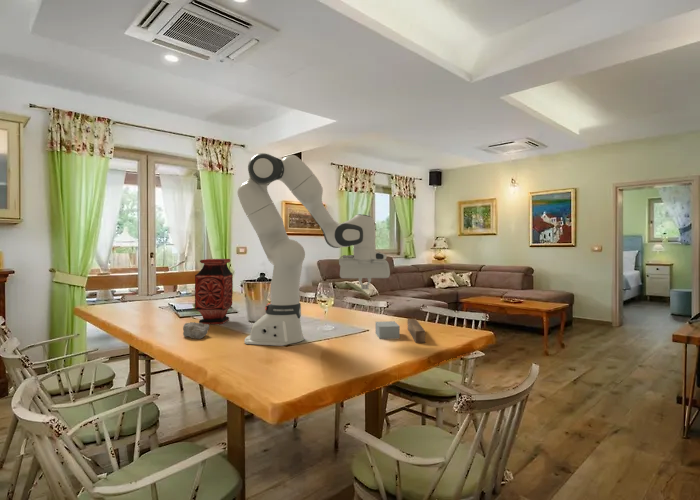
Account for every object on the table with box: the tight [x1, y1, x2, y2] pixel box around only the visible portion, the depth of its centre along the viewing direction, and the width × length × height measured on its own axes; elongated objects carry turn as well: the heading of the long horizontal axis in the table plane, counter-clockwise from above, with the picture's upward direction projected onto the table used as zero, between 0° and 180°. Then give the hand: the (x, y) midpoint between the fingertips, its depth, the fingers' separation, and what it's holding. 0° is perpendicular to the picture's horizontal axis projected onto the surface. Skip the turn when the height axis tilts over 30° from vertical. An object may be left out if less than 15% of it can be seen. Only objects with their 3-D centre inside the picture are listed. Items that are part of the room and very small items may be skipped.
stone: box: [182, 321, 210, 340], centre depth 162 cm, size 10×8×6 cm
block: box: [375, 320, 401, 340], centre depth 162 cm, size 8×10×5 cm
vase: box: [194, 258, 234, 325], centre depth 191 cm, size 14×14×30 cm
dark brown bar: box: [407, 318, 426, 344], centre depth 162 cm, size 4×24×4 cm, turn 179°
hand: (364, 289), depth 162 cm, fingers closed
